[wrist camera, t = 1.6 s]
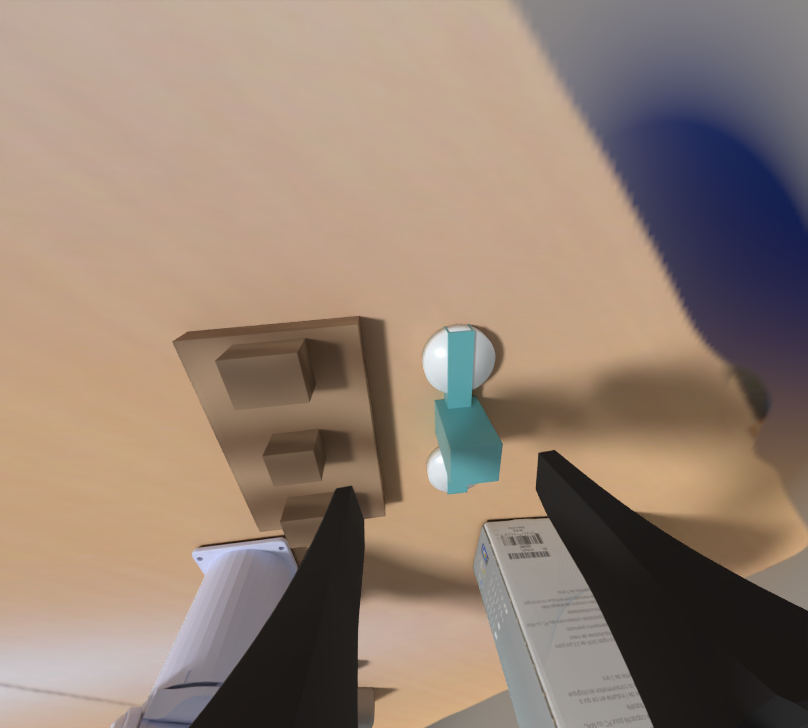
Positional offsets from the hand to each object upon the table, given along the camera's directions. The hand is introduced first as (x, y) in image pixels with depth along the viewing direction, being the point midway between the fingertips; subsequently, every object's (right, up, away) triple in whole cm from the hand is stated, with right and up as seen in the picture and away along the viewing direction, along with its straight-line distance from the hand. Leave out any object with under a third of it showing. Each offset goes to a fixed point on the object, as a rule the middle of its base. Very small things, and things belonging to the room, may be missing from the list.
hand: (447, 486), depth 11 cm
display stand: (-9, 0, +10) cm, 13 cm away
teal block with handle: (+2, +1, +10) cm, 11 cm away
